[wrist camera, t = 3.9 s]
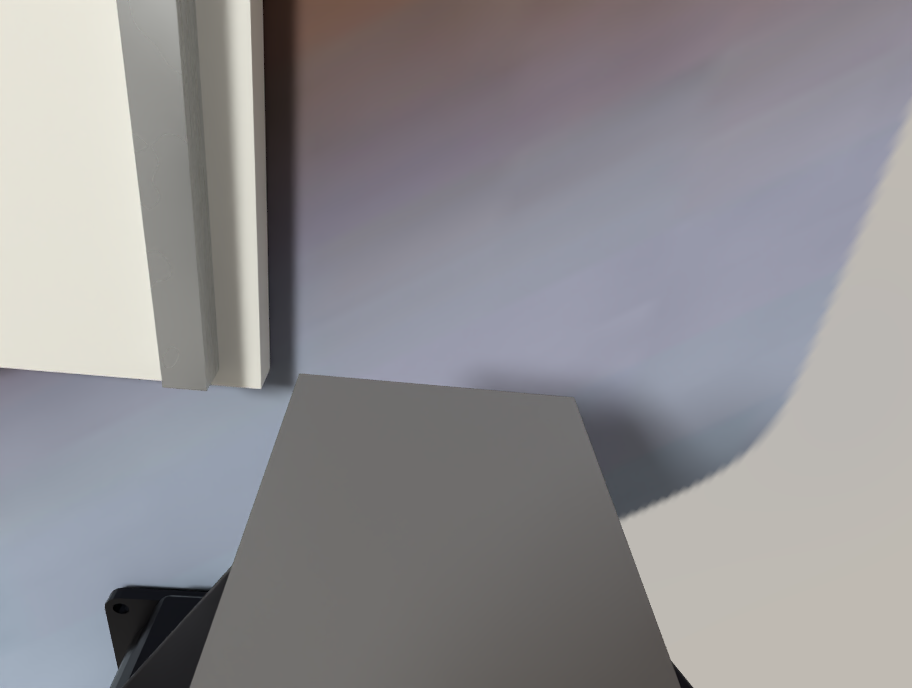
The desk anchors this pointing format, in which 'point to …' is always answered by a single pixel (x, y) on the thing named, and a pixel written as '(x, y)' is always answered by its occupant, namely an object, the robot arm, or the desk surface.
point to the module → (432, 550)
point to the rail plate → (134, 190)
